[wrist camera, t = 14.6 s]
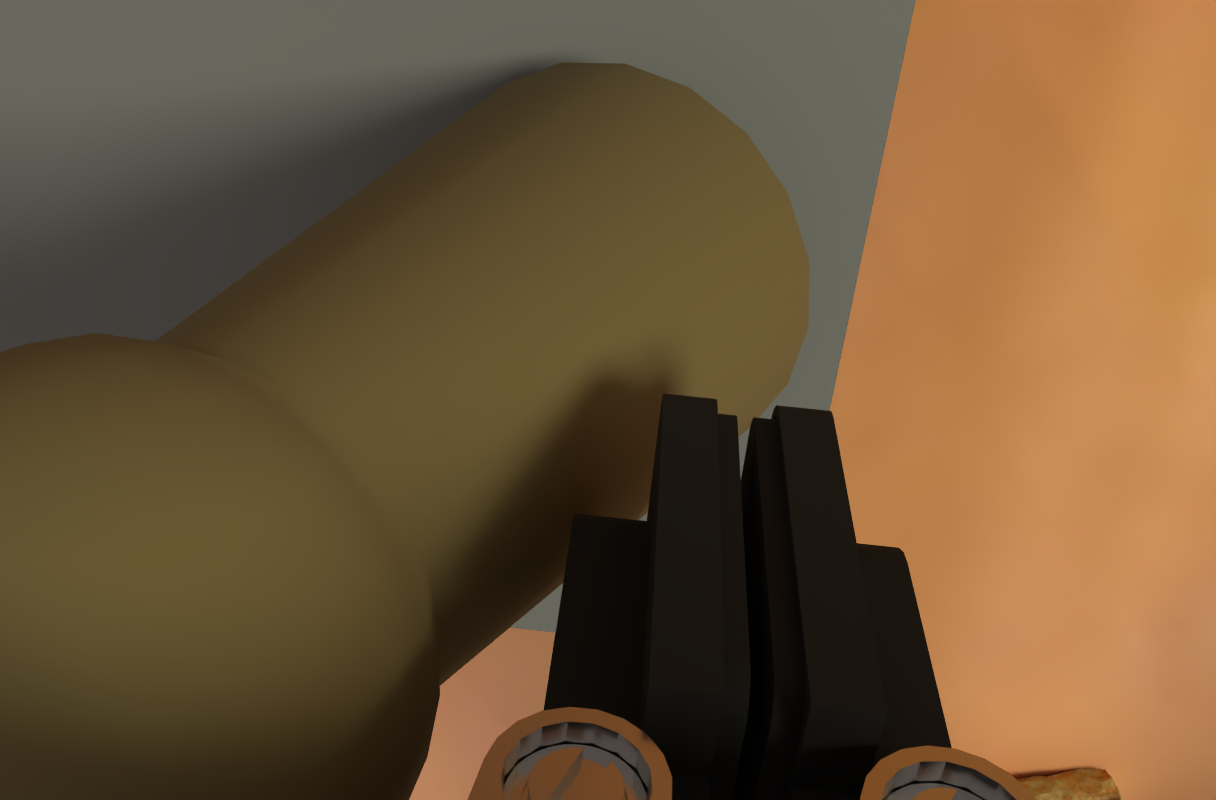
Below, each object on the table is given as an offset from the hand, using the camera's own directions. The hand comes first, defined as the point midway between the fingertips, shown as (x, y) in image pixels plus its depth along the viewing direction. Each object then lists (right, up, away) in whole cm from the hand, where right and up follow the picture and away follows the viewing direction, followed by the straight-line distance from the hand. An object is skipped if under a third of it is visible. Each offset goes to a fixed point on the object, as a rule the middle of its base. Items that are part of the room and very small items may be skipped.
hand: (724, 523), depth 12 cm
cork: (-1, +3, +5) cm, 6 cm away
